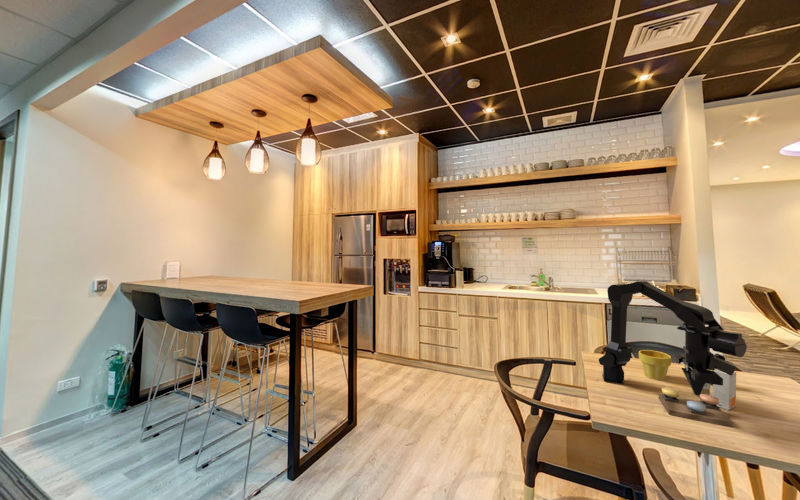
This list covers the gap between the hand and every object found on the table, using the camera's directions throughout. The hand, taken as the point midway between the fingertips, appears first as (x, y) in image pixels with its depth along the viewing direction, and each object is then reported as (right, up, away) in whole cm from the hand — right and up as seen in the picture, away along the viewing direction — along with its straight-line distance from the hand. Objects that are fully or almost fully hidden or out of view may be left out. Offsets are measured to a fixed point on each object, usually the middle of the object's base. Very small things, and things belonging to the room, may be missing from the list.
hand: (696, 394), depth 98 cm
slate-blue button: (0, -5, 0) cm, 5 cm away
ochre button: (-2, -4, +8) cm, 9 cm away
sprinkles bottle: (+15, -7, +14) cm, 22 cm away
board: (+1, -7, +3) cm, 8 cm away
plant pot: (+11, -7, +29) cm, 32 cm away
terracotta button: (+7, -5, +3) cm, 9 cm away
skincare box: (+16, -7, +6) cm, 19 cm away
